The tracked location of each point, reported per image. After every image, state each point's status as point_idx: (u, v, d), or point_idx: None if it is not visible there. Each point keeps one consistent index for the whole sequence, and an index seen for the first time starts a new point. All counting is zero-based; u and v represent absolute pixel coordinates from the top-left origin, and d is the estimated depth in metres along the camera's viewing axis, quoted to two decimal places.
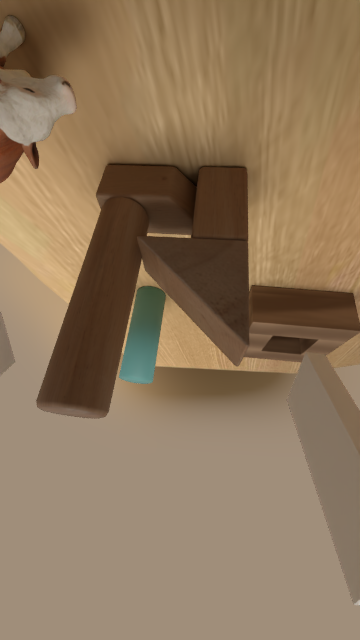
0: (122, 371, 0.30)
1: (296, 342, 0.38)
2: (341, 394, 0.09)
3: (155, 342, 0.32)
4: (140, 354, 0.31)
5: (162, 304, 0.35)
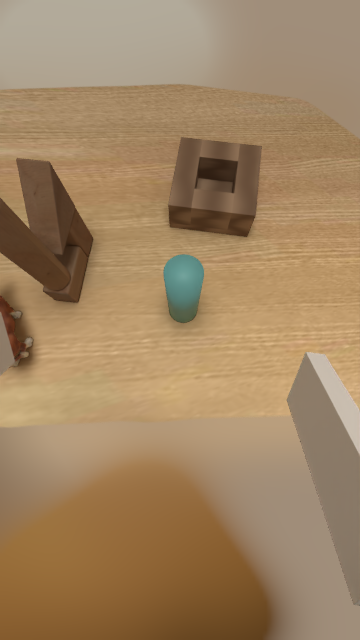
0: (167, 285, 0.26)
1: (235, 173, 0.40)
2: (341, 394, 0.09)
3: None
4: None
5: None
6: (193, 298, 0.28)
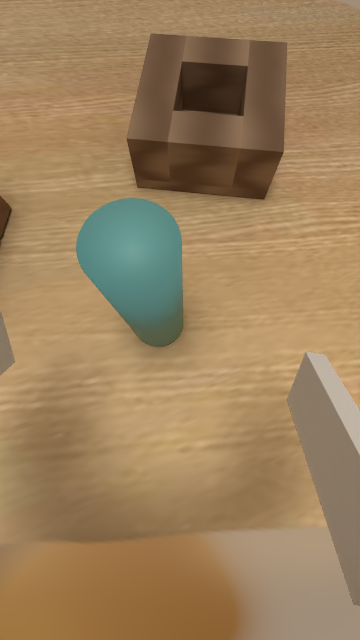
0: (89, 278, 0.10)
1: (242, 93, 0.24)
2: (341, 394, 0.09)
3: None
4: None
5: None
6: (163, 307, 0.12)
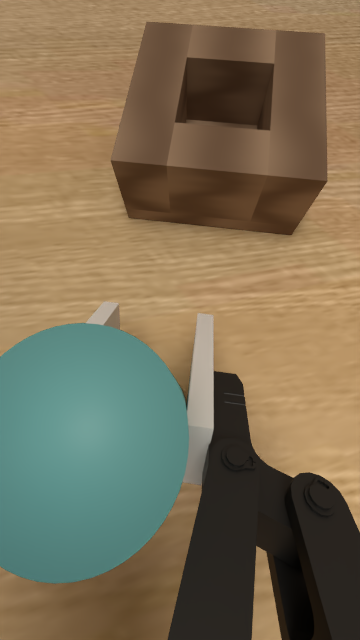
0: None
1: (265, 99, 0.18)
2: (206, 340, 0.11)
3: None
4: None
5: None
6: None
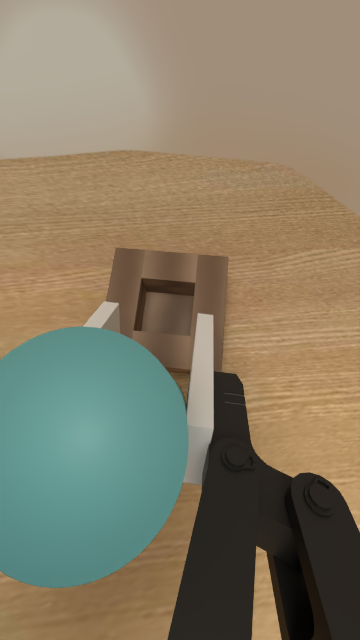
0: None
1: None
2: (206, 340, 0.11)
3: None
4: None
5: None
6: None
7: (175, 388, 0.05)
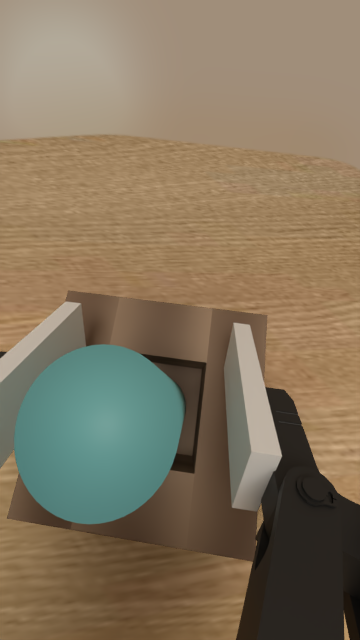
0: None
1: (203, 374, 0.16)
2: (249, 353, 0.10)
3: None
4: None
5: None
6: None
7: (170, 389, 0.06)
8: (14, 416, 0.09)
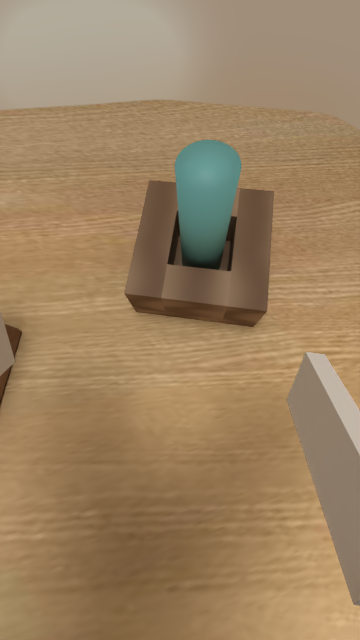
0: (182, 188, 0.16)
1: (233, 233, 0.26)
2: (341, 394, 0.09)
3: None
4: None
5: None
6: (221, 218, 0.18)
7: (236, 152, 0.16)
8: None
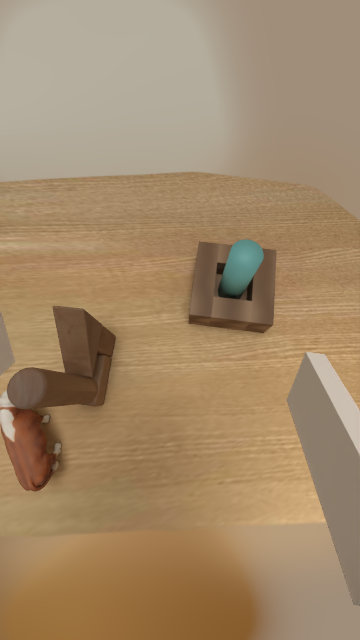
0: (233, 265, 0.32)
1: None
2: (341, 394, 0.09)
3: None
4: (227, 259, 0.34)
5: None
6: (251, 277, 0.34)
7: None
8: None
